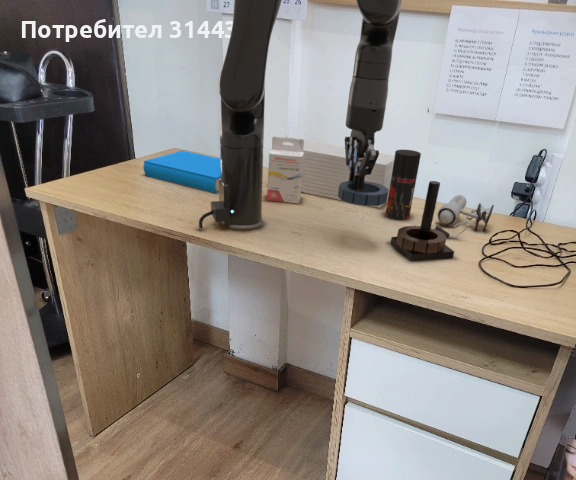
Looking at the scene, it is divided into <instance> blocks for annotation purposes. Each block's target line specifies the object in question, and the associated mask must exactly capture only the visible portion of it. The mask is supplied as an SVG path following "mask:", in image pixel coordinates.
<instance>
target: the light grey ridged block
mask: <svg viewBox="0 0 576 480" xmlns="http://www.w3.org/2000/svg"><path fill="white" fill-rule="evenodd" d="M303 140H304V147H303V152H304V158H303V171H302V185H301V193H306V194H310V195H315V196H320V197H323V198H328V199H329V198H330V199H333V200H338V201H342V200H341V199H340V198H339V197H338V190H339V185H340V183H342V182H346V181H349V174H350V171H349V166H347V165H346V155H345V146H341V145H334V144H327V143H322V142H318V141H311V140H307V139H303ZM282 144H283V145H290V146H293V143H290V142H288V141H287V142H283V143H282ZM394 158H395V155H392V154H388V153H381V152H379V156H378V158H377V161H376V163H375V165H374V168H373V170H372V172H371V174H370V175H366V176H365V179H364V181H367V182H372V183H377V184H380V185H382V186H385V187H386V188H387V189H388V196H389V189H390V183H391V177H392V170H393V164H394ZM388 196H387V201H386V203H385V204H387V202H388ZM385 204H382V205H379V206H378V205H377V206H371V207H372V208H377V209H380V208H382V207H383V206H384V205H385Z"/></svg>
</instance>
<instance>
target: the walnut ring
mask: <svg viewBox="0 0 576 480" xmlns="http://www.w3.org/2000/svg"><path fill="white" fill-rule="evenodd" d="M420 226H421V225H405V226H402V227H400V228H398V229H397V233H396V234H397V235H396V237H397V240H396V243H397V244H398V245H399V246H400V247H403V248H404V249H407V250H410V251H414V252H419V253H425V252H426V253H437V252H439V251H441V250H443V249H444V247H445V245H446V242H447V238H446V235H445V234H444V233H442V232H441V231H439V230H436V229H435V228H434V227H431V230H430V235H429V240H421V239H416V238H418V237H419V232H420Z"/></svg>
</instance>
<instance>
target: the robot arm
mask: <svg viewBox="0 0 576 480" xmlns="http://www.w3.org/2000/svg"><path fill="white" fill-rule="evenodd" d="M282 2H283V0H234V1H233V15H232V26H231V31H230V38H229V42H228V44H227V48H226V53H225V57H224V60H223V63H222V67H221V69H220V73H219V77H218V81H217V87H218V92H219V96H220V125H219V148H220V150H219V151H220V156H219V157H220V159H221V178H219V192H218V200H214V201H213V200H211V201H210V211H208V212H206V213H204V214H202V215H201V216H200V218H199V220H198V228H199V229H203V222H204V220H205V219H206V218H207V217H210V216H212V218H213V220H214V222H215V223H220V224H221V225H222V227H223V228H224V229H232V230H240V231H247V230H253V229H258V228H260V227H261V226H262V224H263V222H262V221H263V214H262V212H263V180H264V179H263V177H264V176H263V173H264V142H265V141H264V139H265V103H266V101H265V100H266V72H267V71H266V70H267V64H268V63H267V62H268V56H269V48H270V42H271V37H272V33H273V30H274V26H275V24H276V21H277V17H278V14H279V12H280V9H281V5H282ZM355 2H356V5H357V7H358V10H359V12H360V15H361V16H362V19H361V28H360V37H359V42H358V44H357V46H356V50H355V55H354V63H353V70H352V77H351V82H350V86H349V93H348V99H347V100H348V102H347V109H346V118H345V126H346V128H348V129H349V130H351V132H350V135H349V136H344V147H345V155H346V165H347V166H349V171H350V174H349V181H353V189H352V190H355V191H358V192H363V186H364V179H365V176H366V175H370V174H371V172H372V170H373V168H374V165H375V163H376V161H377V158H378V156H379V153H380V150H379V149H375V143H376V142H375V140H376V139H375V134H376V133H377V132H380V131H382V130H383V126H384V122H385V121H384V119H385V113H386V108H387V101H388V96H389V95H388V93H389V78H390V73H391V67H392V60H393V47H394V43H395V38H396V33H397V30H398V25H399V20H400V14H401V9H402V0H355Z"/></svg>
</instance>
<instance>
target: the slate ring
mask: <svg viewBox="0 0 576 480" xmlns="http://www.w3.org/2000/svg"><path fill="white" fill-rule="evenodd" d="M352 189H353V181H346V182H342V183H340V185H339V190H338V197H339V198H340V199H341V200H340V201H343V202H345V203H348V204H351V205H357V206H363V207H365V206H366V207H372V206H377V205H378V206H379V205H382V204H384V205H385V204H387V203H386V201H387V196H388V189H387V188H386V187H385V186H382V185H380V184H377V183H372V182H367V181H364V186H363V192H358V191H355V190H352Z"/></svg>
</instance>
